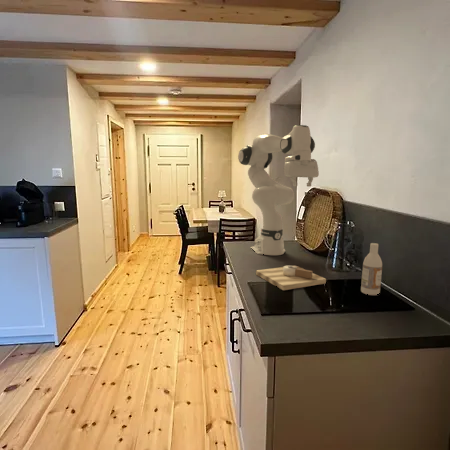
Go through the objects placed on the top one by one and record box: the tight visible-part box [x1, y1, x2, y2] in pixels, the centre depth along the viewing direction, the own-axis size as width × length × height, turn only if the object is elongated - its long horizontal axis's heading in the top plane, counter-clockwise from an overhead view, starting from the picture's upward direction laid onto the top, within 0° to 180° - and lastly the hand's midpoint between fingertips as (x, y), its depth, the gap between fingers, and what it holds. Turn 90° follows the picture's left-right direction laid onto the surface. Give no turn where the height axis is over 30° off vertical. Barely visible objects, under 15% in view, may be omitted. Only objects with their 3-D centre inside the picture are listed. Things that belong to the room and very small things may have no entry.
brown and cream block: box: [282, 264, 313, 279], centre depth 144 cm, size 13×6×4 cm, turn 54°
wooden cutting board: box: [255, 265, 327, 291], centre depth 147 cm, size 22×22×2 cm
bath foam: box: [360, 242, 383, 296], centre depth 130 cm, size 7×7×20 cm
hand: (302, 186), depth 162 cm, fingers open, 8 cm apart
